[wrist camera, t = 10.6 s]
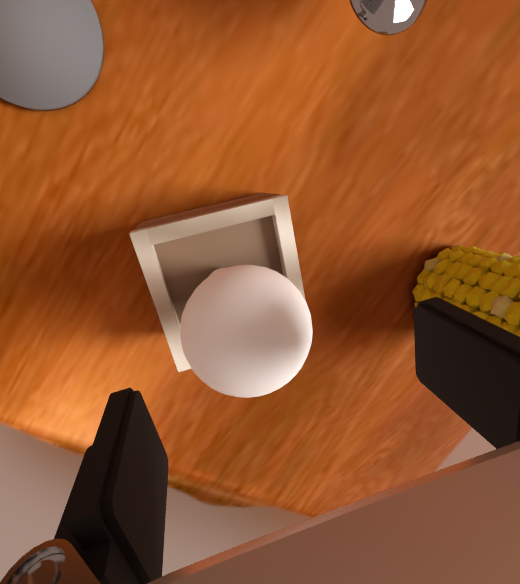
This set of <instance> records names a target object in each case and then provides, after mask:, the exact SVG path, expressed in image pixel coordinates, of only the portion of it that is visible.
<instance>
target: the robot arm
mask: <svg viewBox="0 0 520 584" xmlns="http://www.w3.org/2000/svg"><path fill="white" fill-rule="evenodd" d="M414 330H415V363H416V375H417V377H418V379H419V380H420V382H421V383H422V384H424V385H425V386H426V387H427V388H428V389H429V390H430V391H431V392H433V393H434V394H435V395H436V396H437V397H438V398H439V399H441V400H442V401H443V402H444V403H445V404H446V405H447V406H449V407H450V408H451V409H452V410H453V411H454V412H455V413H456V414H458V415H459V416H460V417H461V418H462V419H463V420H464V421H466V422H467V423H468V424H469V425H470V426H471V427H472V428H474V429H475V430H476V431H477V432H478V433H479V434H481V436H483V437H484V438H485V439H486V440H487V441H489V443H491V444H492V445H493V446H494V447H495V448H496V450H494V451H491V452H488V453H485V454H482V455H480V456H477V457H474V458H471V459H469V460H466V461H463V462H460V463H458V464H455V465H452V466H450V467H447V468H444V469H441V470H439V471H436V472H433V473H431V474H428V475H425V476H422V477H420V478H417V479H414V480H412V481H409V482H406V483H404V484H401V485H398V486H395V487H393V488H390V489H387V490H385V491H382V492H379V493H377V494H374V495H371V496H369V497H366V498H363V499H361V500H358V501H355V502H353V503H350V504H347V505H345V506H342V507H339V508H337V509H334V510H331V511H329V512H326V513H323V514H321V515H318V516H315V517H313V518H310V519H307V520H305V521H302V522H300V523H297V524H294V525H292V526H289V527H286V528H284V529H281V530H279V531H276V532H273V533H271V534H268V535H265V536H263V537H260V538H257V539H255V540H252V541H249V542H247V543H244V544H242V545H239V546H236V547H234V548H231V549H229V550H226V551H224V552H221V553H219V554H216V555H214V556H211V557H209V558H206V559H204V560H201V561H199V562H196V563H194V564H191V565H189V566H186V567H184V568H181V569H179V570H176V571H174V572H171V573H169V574H167V575H165V576H162V565H163V548H164V547H163V546H164V531H165V514H166V497H167V481H168V458H167V454H166V452H165V449H164V447H163V444H162V442H161V440H160V437H159V435H158V433H157V430H156V428H155V426H154V423H153V421H152V419H151V416H150V414H149V412H148V409H147V407H146V405H145V402H144V400H143V397H142V395H141V393H140V392H139V391H138V390H137V391H133V390H132V388H127V389H124V390H121V391H117V392H114V393H111V394H110V396H109V399H108V402H107V405H106V408H105V411H104V414H103V416H102V419H101V422H100V425H99V428H98V431H97V434H96V437H95V440H94V442H93V445H92V446H90V447H89V448H88V449H87V450H86V452H85V455H84V458H83V461H82V463H81V466H80V469H79V472H78V474H77V477H76V480H75V482H74V485H73V488H72V491H71V493H70V496H69V499H68V502H67V504H66V507H65V510H64V513H63V516H62V518H61V521H60V524H59V527H58V529H57V532H56V535H55V538H54V539H53V540H49V541H46V542H44V543H42V544H40V545H38V546H36V547H34V548H33V549H31V550H30V551H29V552H28V553H26V554H25V555H24V556H22V557H21V558H20V559H19V560H18V561H17V562H16V563H15V564H14V565H13V566H12V567H11V568H10V570H9V571H8V572H7V574H6V575H5V576H4V578H3V579H2V580H1V582H0V584H520V337H519V336H517V335H515V334H513V333H511V332H509V331H507V330H505V329H503V328H501V327H499V326H497V325H495V324H493V323H490V322H488V321H486V320H484V319H482V318H480V317H478V316H476V315H474V314H472V313H470V312H468V311H466V310H464V309H461V308H459V307H457V306H455V305H453V304H451V303H449V302H447V301H445V300H443V299H441V298H438V297H433V298H430V299H426V300H423V301H420V302H419V303H418V305H417V307H416V308H415V309H414Z"/></svg>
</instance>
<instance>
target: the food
mask: <svg viewBox="0 0 520 584" xmlns="http://www.w3.org/2000/svg"><path fill="white" fill-rule="evenodd" d="M417 283H418V284H417V285H416V287H415V288H414V289H413V291H412V292H413V295H414V298H415V300H416V301H418V302H415V303H414V304H415V308H416V307H417V305H418V303H419V302H420V301H423V300H426V299H430V298H433V297H438V298H441V299H443V300H445V301H447V302H449V303H451V304H453V305H455V306H457V307H459V308H461V309H464V310H466V311H468V312H470V313H472V314H474V315H476V316H478V317H480V318H482V319H484V320H486V321H488V322H490V323H493V324H495V325H497V326H499V327H501V328H503V329H505V330H507V331H509V332H511V333H513V334H515V335H517V336H519V337H520V256H515V255H509V254H506V253H504V252H501V253H494V252H492V251H491V250H487V251H485V250H482V249H479V248H476V247H475V246H471V247H465V246H462V245H458V246H455V247H452V248H451V250H450V249H449V248H446V249H444V250H443V251H441V252H439V254H438V255H437V257H436V258H433V259H430V260H426V261H425V265H424V269H423V271H422V272H421V273H420V274H419V275H418V276H417Z"/></svg>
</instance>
